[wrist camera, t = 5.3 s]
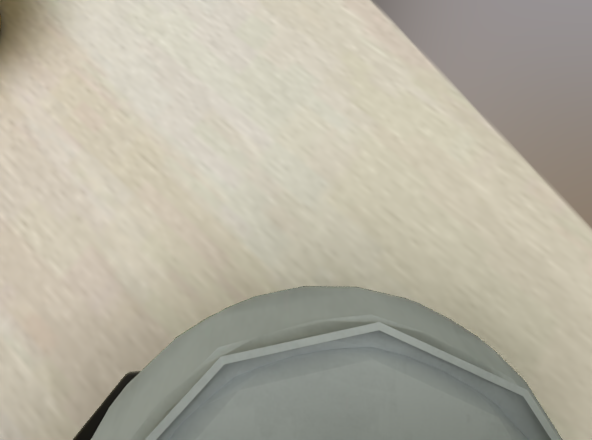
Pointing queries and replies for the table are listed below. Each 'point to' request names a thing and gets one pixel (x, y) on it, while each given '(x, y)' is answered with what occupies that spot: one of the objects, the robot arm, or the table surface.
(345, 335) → the beer can
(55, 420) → the table surface
